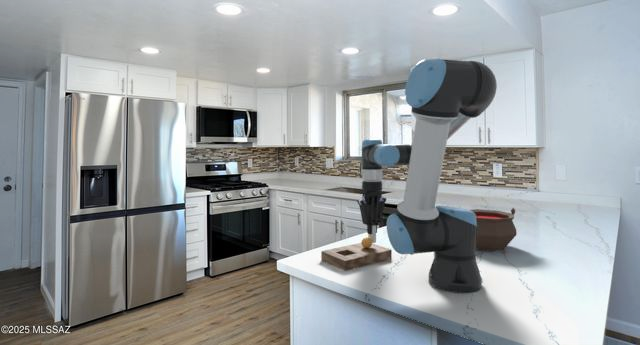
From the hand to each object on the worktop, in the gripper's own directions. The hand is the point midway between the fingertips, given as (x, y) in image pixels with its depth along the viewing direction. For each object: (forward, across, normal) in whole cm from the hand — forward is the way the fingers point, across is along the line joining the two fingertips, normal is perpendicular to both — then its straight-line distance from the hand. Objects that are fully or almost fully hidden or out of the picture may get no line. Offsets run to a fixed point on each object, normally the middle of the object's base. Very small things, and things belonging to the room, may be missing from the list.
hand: (372, 241), depth 136 cm
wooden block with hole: (+5, +8, 0) cm, 9 cm away
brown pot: (+6, -47, +18) cm, 50 cm away
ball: (0, +3, 0) cm, 3 cm away
